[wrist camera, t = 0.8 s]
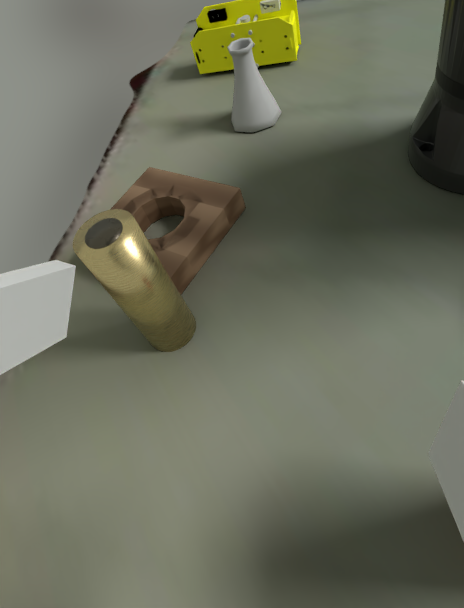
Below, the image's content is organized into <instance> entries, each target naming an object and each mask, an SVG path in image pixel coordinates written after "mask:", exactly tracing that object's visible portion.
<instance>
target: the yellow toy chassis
mask: <svg viewBox="0 0 464 608" xmlns="http://www.w3.org/2000/svg"><path fill="white" fill-rule="evenodd" d="M270 5H271V6H272V7H270ZM274 5H276V7H275V6H274ZM211 9H216V10H213V11H210V10H211ZM218 15H219V17H218ZM212 16H214V17H212ZM196 22H197V26H198V29H197V31H196V33H195V34H194V38H193V40H192V41H191V42H190V43H191V47H192V50H193V53H194V56H195V60H196V63H197V66H198V69H199V72H200V74H204V73H211V72H218V71H225V70H232V69H234V63H233V59H232V56H231V55H230V53H229V51H228V48H227V47H228V46H229V45H230V43H231V42H232V41H235V40H238V39H240V38H251V40H252V41H253V47H252V53H253V57H254V61H255V63H256V66H257V68H258V67H259V66H261V65H268V64H275V63H282V62H289V61H296V60H297V52H298V48H299V46H298V45H300V44H301V38H300V29H299V20H298V11H297V2H296V0H281V7H280V1H279V0H237V1H232V2H227V3H222V4H217V5H212V6H207V7H204V8H203V10H202V11H201V13H200V15H199V16H198V18H197V19H196Z"/></svg>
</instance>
